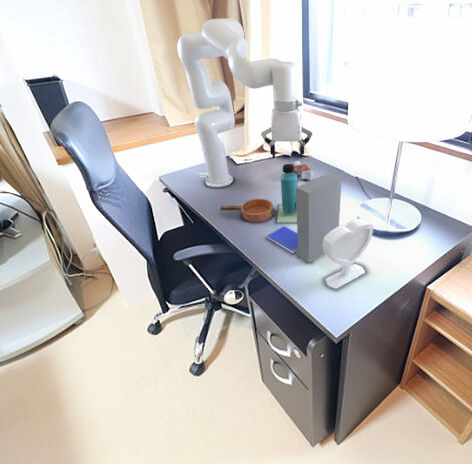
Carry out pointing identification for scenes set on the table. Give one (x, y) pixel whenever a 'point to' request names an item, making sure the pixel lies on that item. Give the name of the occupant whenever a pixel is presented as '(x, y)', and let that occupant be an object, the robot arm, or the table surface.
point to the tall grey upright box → (317, 213)
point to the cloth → (286, 216)
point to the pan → (257, 210)
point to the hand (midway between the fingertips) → (287, 156)
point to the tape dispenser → (303, 170)
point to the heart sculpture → (347, 250)
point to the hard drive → (285, 239)
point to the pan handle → (230, 207)
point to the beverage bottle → (289, 189)
